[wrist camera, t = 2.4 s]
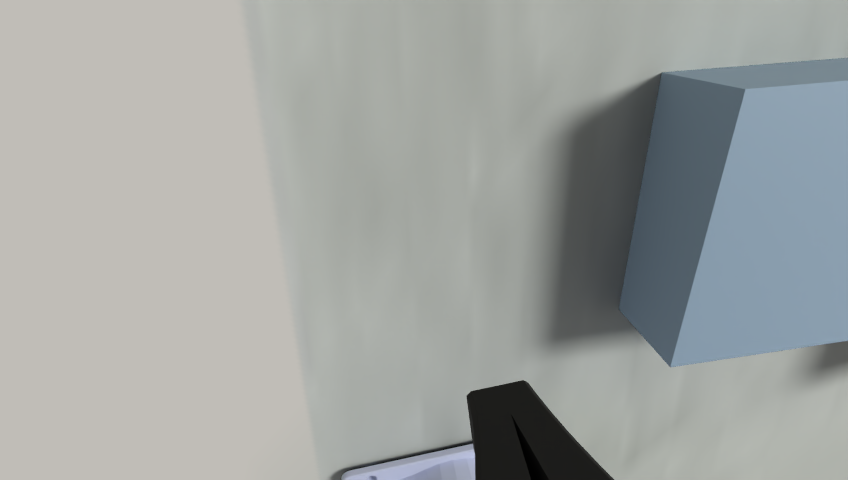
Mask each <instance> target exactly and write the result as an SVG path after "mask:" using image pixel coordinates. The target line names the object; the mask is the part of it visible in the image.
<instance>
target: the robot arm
mask: <svg viewBox="0 0 848 480" xmlns="http://www.w3.org/2000/svg"><path fill="white" fill-rule="evenodd" d="M467 403H468V410H469V418H470V425H471V433H472V440H473V444H469V445H464V446H459V447H455V448H450V449H446V450H441V451H437V452H432V453H427V454H423V455H418V456H414V457H409V458H405V459H400V460H395V461H391V462H386V463H382V464H377V465H373V466H368V467H364V468H359V469H354V470H350V471H347V472H345V473H344V474H343V475H342V477H341V480H614V479H613V478H612V477H611V476H610V475H609V474H608V473H607V472H606V471H605V470H604V469H603V468H602V467H601V466H600V465H599V464H598V463H597V462H596V461H595V460H594V459H593V458H592V457H591V456H590V454H589V453H588V452H587V451H586V450H585V449H584V448H583V447H582V446H581V445H580V444H579V443H578V442H577V441H576V440H575V439H574V437H573V436H572V435H571V434H570V433H569V432H568V431H567V430H566V429H565V427H564V426H563V425H562V424H561V423H560V422H559V421H558V419H557V418H556V417H555V416H554V415H553V414H552V412H551V411H550V410H549V409H548V408H547V406H546V405H545V404H544V403H543V401H542V400H541V399H540V398H539V396H538V395H537V394H536V393H535V391H534V390H533V389H532V387H531V386H530V385H529V383H527V382H526V381H524V380H523V381H518V382H513V383H508V384H504V385H499V386H494V387H490V388H485V389H480V390H475V391H471V392H470V393H469V394H468V395H467Z"/></svg>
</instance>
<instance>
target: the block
mask: <svg viewBox="0 0 848 480" xmlns="http://www.w3.org/2000/svg"><path fill="white" fill-rule="evenodd" d="M619 310H620V311H621V312H622V314H623V315H624V316H625V317H626V318H627V319H628V320H629V321H630V323H631V324H632V325H633V326H634V327H635V328H636V329H637V330H638V332H639V333H640V334H641V335H642V336H643V337H644V338H645V339H646V341H647V342H648V343H649V344H650V345H651V346H652V347H653V348H654V350H655V351H656V352H657V353H658V354H659V355H660V356H661V357H662V359H663V360H664V361H665V362H666V363H667V364H668V365H669V366H670V367H676V366H682V365H689V364H696V363H702V362H709V361H716V360H722V359H729V358H736V357H742V356H749V355H756V354H762V353H769V352H776V351H782V350H789V349H796V348H802V347H809V346H816V345H822V344H829V343H836V342H842V341H848V58H838V59H826V60H813V61H801V62H788V63H775V64H763V65H750V66H738V67H725V68H713V69H700V70H687V71H675V72H662V74H661V80H660V85H659V91H658V96H657V102H656V107H655V113H654V118H653V124H652V129H651V135H650V140H649V146H648V151H647V157H646V162H645V168H644V173H643V179H642V184H641V190H640V195H639V201H638V206H637V212H636V217H635V223H634V228H633V234H632V239H631V245H630V250H629V256H628V261H627V267H626V272H625V278H624V283H623V289H622V294H621V300H620V305H619Z"/></svg>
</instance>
